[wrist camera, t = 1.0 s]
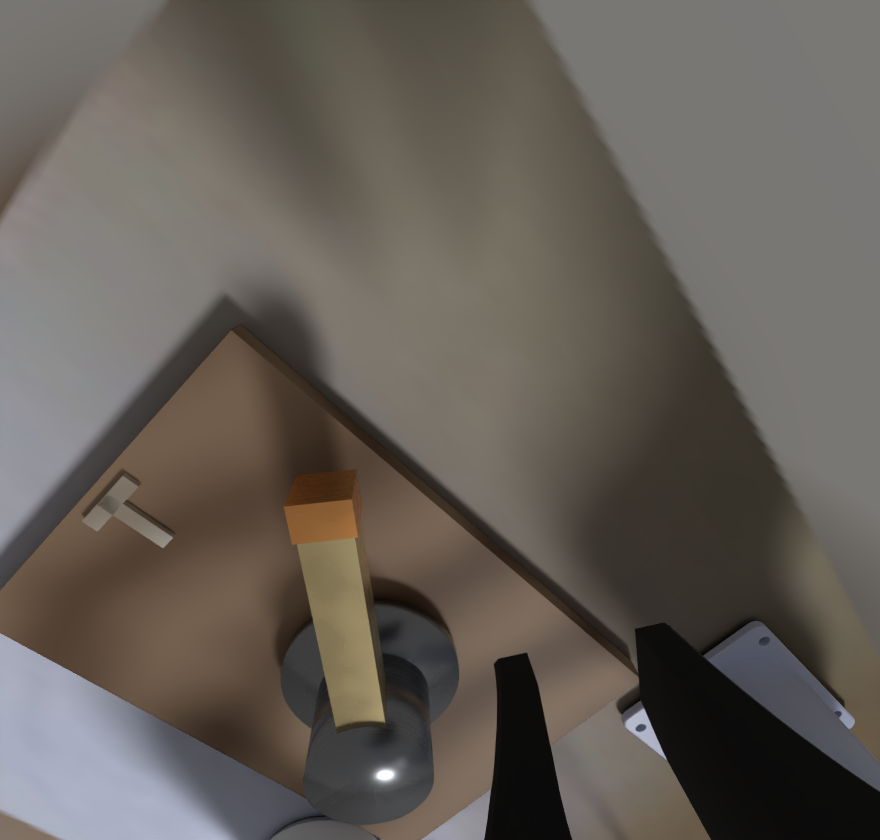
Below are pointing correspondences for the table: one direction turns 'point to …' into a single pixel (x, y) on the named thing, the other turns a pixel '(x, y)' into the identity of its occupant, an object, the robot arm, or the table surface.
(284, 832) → the can
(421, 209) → the table surface
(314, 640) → the lever door handle
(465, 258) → the table surface
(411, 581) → the stand
